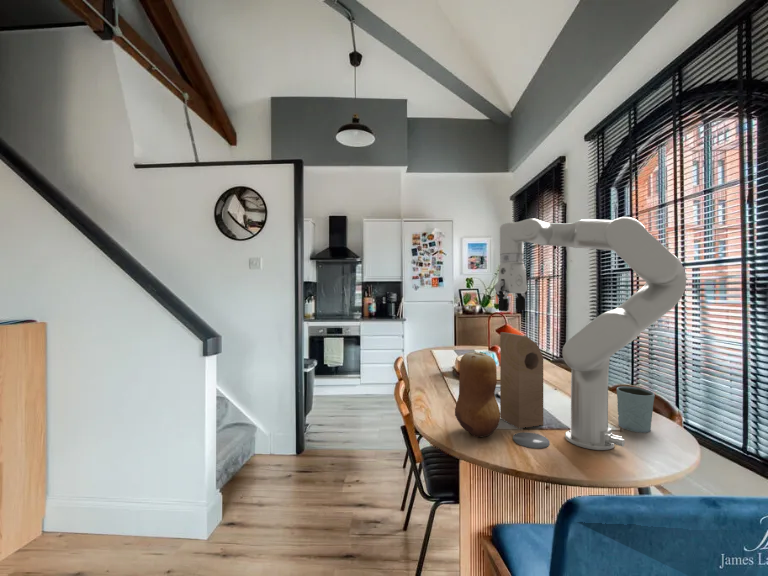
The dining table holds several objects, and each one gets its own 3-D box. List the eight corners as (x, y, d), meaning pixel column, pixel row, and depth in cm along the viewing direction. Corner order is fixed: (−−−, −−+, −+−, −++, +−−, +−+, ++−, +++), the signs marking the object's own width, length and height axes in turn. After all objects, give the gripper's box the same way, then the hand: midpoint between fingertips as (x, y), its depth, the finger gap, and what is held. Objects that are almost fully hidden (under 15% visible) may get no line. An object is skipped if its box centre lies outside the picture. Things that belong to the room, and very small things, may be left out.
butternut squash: (508, 434, 112) (508, 353, 112) (485, 447, 102) (485, 359, 103) (470, 422, 122) (470, 348, 122) (445, 433, 113) (445, 352, 113)
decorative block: (500, 418, 125) (499, 331, 125) (523, 415, 128) (523, 330, 128) (518, 428, 116) (518, 335, 116) (543, 425, 119) (543, 334, 119)
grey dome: (555, 442, 106) (555, 439, 106) (538, 451, 100) (538, 449, 100) (524, 431, 114) (524, 429, 114) (506, 439, 108) (506, 437, 108)
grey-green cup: (616, 419, 124) (616, 384, 124) (652, 425, 119) (652, 389, 119) (617, 429, 115) (617, 392, 115) (656, 436, 110) (656, 397, 110)
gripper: (505, 257, 114) (506, 311, 114) (536, 260, 124) (536, 309, 124) (486, 259, 120) (486, 310, 120) (516, 261, 131) (517, 309, 130)
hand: (512, 310), depth 122 cm, fingers open, 9 cm apart
